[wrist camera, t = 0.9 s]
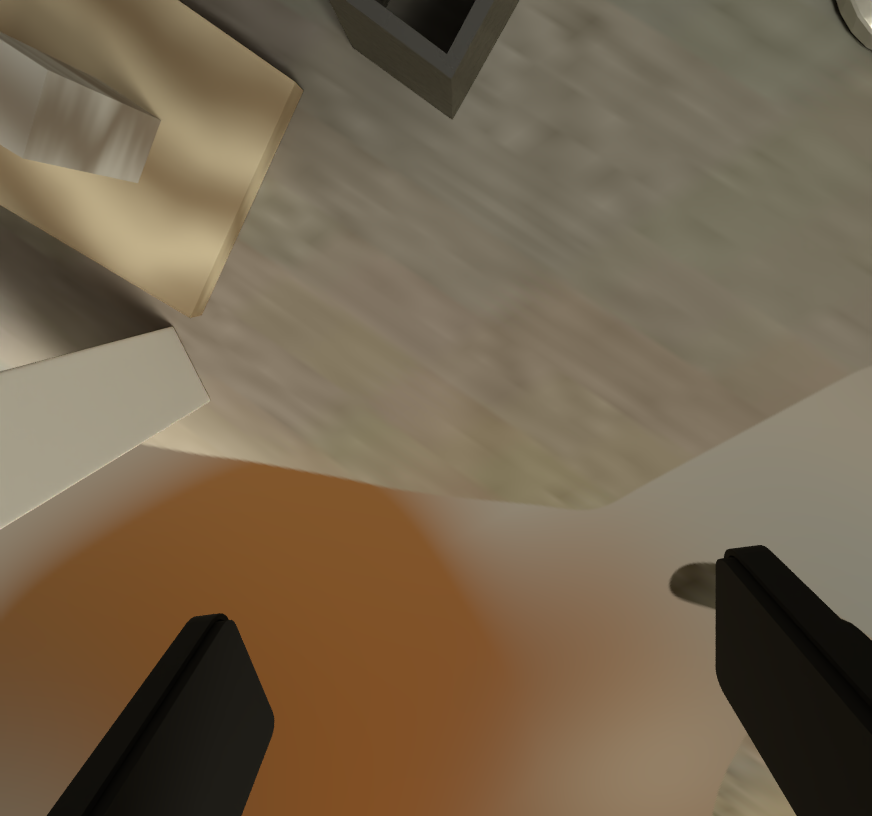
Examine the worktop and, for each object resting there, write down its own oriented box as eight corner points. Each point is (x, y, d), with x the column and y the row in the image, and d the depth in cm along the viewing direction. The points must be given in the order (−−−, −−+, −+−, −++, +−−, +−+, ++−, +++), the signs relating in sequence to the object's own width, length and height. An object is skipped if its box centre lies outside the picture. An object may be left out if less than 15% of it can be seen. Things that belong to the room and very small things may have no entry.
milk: (174, 325, 33) (-313, 448, 12) (212, 401, 35) (-153, 625, 14) (101, 351, 34) (-473, 509, 13) (143, 424, 35) (-302, 668, 15)
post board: (49, -87, 26) (-171, -271, 17) (303, 90, 28) (230, 13, 19) (-21, 182, 30) (-222, 152, 21) (201, 315, 32) (104, 339, 23)
